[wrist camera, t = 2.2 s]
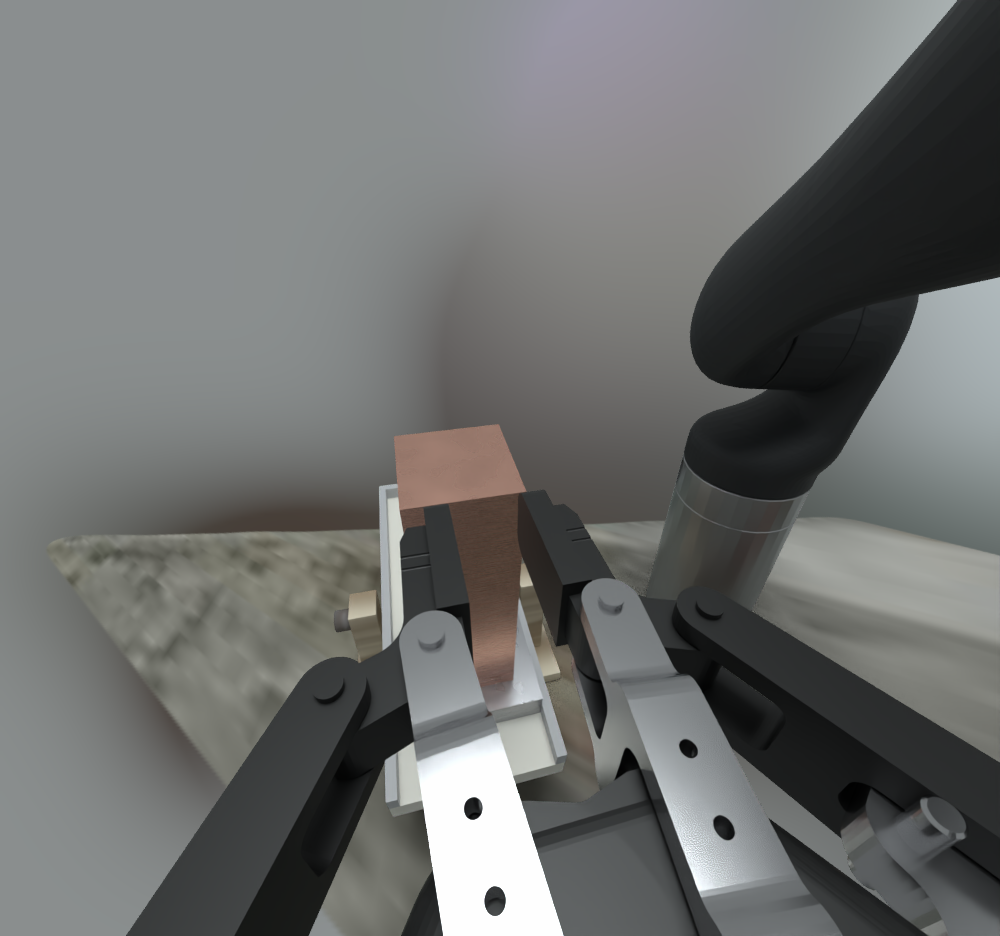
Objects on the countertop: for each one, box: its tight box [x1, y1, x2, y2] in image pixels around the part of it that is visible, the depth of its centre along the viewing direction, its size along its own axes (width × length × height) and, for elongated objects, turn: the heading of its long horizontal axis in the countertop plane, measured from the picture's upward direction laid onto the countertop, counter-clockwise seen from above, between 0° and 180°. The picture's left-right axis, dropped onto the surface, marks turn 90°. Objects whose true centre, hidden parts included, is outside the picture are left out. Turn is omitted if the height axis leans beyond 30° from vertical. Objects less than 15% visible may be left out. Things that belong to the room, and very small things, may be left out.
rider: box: [394, 424, 543, 723], centre depth 24 cm, size 8×8×18 cm
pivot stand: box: [334, 564, 560, 682], centre depth 37 cm, size 8×18×9 cm, turn 103°
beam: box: [379, 484, 567, 817], centre depth 35 cm, size 26×10×3 cm, turn 13°
